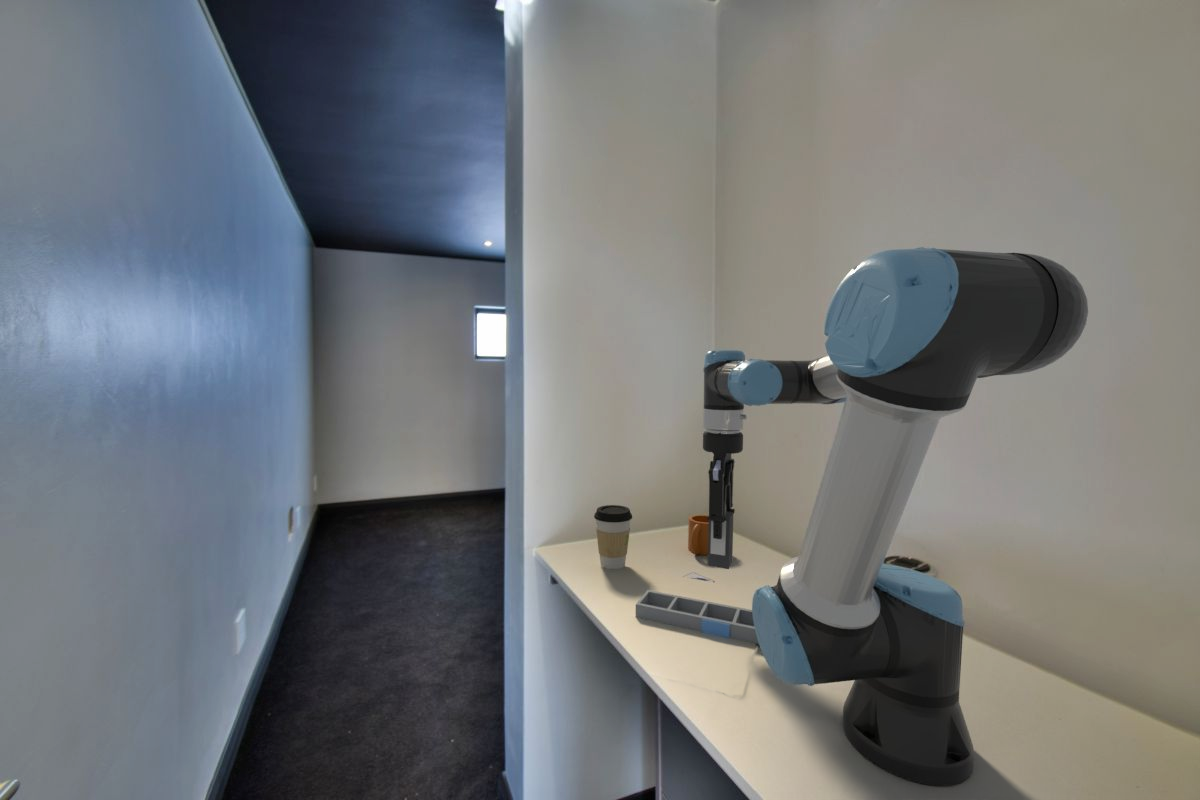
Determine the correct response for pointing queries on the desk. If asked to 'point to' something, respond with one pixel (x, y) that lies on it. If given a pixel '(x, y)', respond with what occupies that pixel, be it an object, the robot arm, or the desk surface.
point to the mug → (698, 534)
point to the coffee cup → (613, 535)
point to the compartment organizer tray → (698, 615)
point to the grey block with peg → (726, 560)
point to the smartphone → (698, 577)
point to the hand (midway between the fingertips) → (720, 549)
